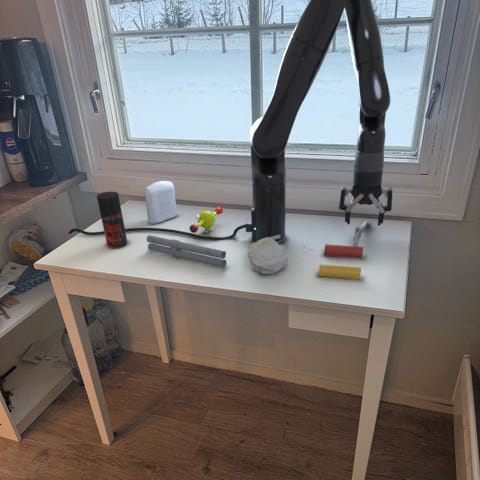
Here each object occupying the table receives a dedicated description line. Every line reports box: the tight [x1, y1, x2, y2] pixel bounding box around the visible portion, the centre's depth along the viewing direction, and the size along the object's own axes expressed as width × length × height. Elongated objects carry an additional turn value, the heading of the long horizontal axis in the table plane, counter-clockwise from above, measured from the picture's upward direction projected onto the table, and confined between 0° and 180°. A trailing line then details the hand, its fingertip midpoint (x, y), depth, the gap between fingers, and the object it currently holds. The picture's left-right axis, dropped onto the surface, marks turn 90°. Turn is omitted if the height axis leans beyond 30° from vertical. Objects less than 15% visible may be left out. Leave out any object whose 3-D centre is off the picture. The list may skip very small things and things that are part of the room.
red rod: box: [323, 243, 364, 259], centre depth 126 cm, size 10×3×3 cm, turn 75°
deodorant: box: [96, 191, 128, 249], centre depth 135 cm, size 6×6×15 cm
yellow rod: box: [318, 263, 362, 281], centre depth 116 cm, size 10×3×3 cm, turn 75°
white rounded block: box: [143, 180, 178, 225], centre depth 152 cm, size 10×4×12 cm, turn 134°
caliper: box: [352, 220, 369, 247], centre depth 135 cm, size 20×1×6 cm, turn 158°
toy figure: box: [189, 206, 224, 234], centre depth 142 cm, size 18×6×7 cm, turn 154°
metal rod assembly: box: [146, 234, 227, 268], centre depth 128 cm, size 26×3×5 cm, turn 60°
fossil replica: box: [247, 237, 290, 275], centre depth 120 cm, size 12×8×10 cm
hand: (363, 223), depth 135 cm, fingers open, 8 cm apart
